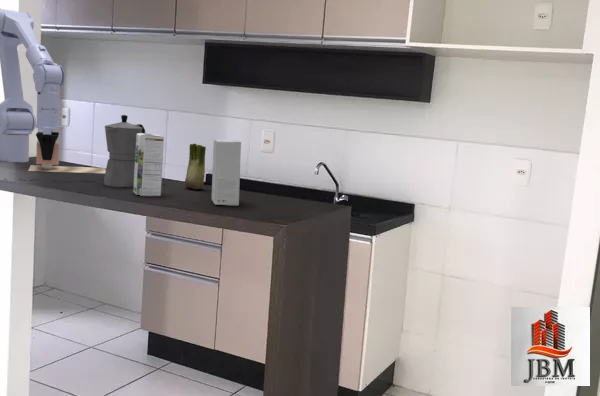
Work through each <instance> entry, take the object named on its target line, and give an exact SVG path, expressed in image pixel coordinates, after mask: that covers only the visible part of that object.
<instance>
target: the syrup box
mask: <svg viewBox="0 0 600 396" xmlns="http://www.w3.org/2000/svg"><path fill="white" fill-rule="evenodd" d="M164 142H165V136H162V135H160V134H155V133H149V132H145V133H137V135H136V152H135V168H134V187H133V188H132V191H133V193H134V194H135V195H136V196H137V195H140V196H139V197H161V196H162V182H163V181H162V180H163V164H164V163H163V161H164V147H165V145H164V144H165V143H164Z"/></svg>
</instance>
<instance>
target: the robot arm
mask: <svg viewBox="0 0 600 396" xmlns="http://www.w3.org/2000/svg"><path fill="white" fill-rule="evenodd" d="M34 25H35V20H34V18H33V15H31V14H30V13H29V12H22V11H21V12H20V11H15V10H9V9H4V8H1V7H0V71H1V80H2V88H3V97H4V100H2V101H1V102H0V161H1V162H2V161H3V162H9V163H27V162H28V163H29V162H30V161H29V160H30V159H29V158H30V154H29V153H30V135H32V134H33V132H34V130H35V129H38V130H42V131H37V133H35V136H36V138H37V140H38V141H37V142H39V144H40V147H41V154H42V158H43V160H51V159H52V155H53V149H54V145H55V143H57V140H58V138H59V135H60V132H58V131H54V130H64V127H65V126H64V125H60V106H61V105H60V102H61V100H60V98H61V96H60V95H61V88H60V87H62V86H64V85H63V84H64V82H65V79H66V77H65V76H66V75H65V71H64V69H63V66H62V65H61V64H60V65H59V64H58V63H55V62H54V60H53V58H52V57H51V55H50V54H49V51H48V50H47V48H46V46H45V45H43V44H40V43H39V41H38V39H37V37H36V34H35V31H34V27H35V26H34ZM21 44H22V45H23V46H24V47H25V49H26V51H25V58H26V59H27V61H28V64H30V67H31V68H32V70H33V73H32V79H33V82H34V89H35V92H37V93H36V115H35V113H34V109H33V106H32V105H31V104H30V103H28V102H27V101H26V100H25V98H24V92H23V86H22V85H23V84H22V77H21V68H20V60H19V59H20V58H19V51H18V47H19V45H21Z"/></svg>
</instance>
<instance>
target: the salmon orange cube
mask: <svg viewBox="0 0 600 396" xmlns="http://www.w3.org/2000/svg"><path fill="white" fill-rule="evenodd" d="M35 159H36V161H35V162H36V165H42V164H48V165H52V166H60V165H59V163H60V161H59V160H60V142H55V145H54V149H53V155H52V159H51V160H43V158H42V154H41V147H40V144H39V141H37V142H36V158H35Z"/></svg>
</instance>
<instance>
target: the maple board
mask: <svg viewBox="0 0 600 396" xmlns="http://www.w3.org/2000/svg"><path fill="white" fill-rule="evenodd" d="M27 171H28V172H51V173H76V174H77V173H81V174H84V173H85V174H104V175H105V172H106V168H105V167H94V166H93V167H90V166H89V167H88V166H87V167H85V166H64V165H63V166H60V165H52V169H42V165H41V164H36V165H35V164H31V165H30V166H29V168H28V169H27Z"/></svg>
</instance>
